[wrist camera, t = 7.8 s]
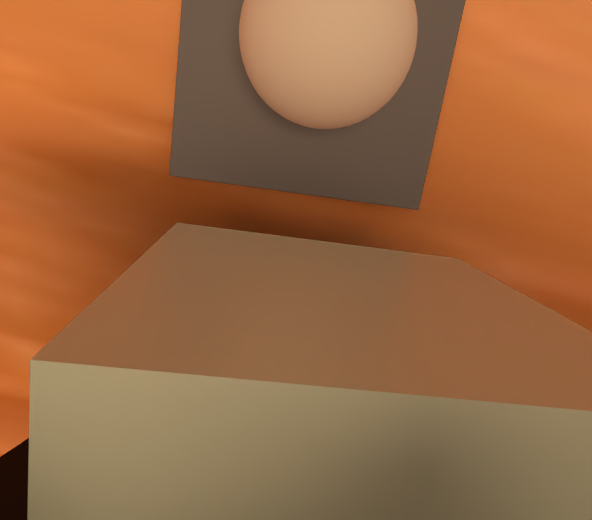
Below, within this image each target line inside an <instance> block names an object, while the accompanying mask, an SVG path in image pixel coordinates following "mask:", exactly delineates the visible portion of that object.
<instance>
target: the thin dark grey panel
mask: <svg viewBox="0 0 592 520" xmlns="http://www.w3.org/2000/svg"><path fill="white" fill-rule="evenodd" d="M414 1H415V5H416V11H417V21H418V32H417V42H416V49H415V53H414V58H413V61H412V63H411V66H410V69H409V71H408V73H407V75H406V77H405V79H404V81H403V83H402V84H401V86H400V87H399V89H398V91H397V92H396V93H395V95H394V96H393V97H392V98H391V99H390V100H389V101H388V102H387V103H386V104H385V105H384V106H383V107H382V108H381V109H380V110H378V111H377V112H376V113H374V114H373V115H371V116H370V117H368V118H366V119H364V120H362V121H360V122H358V123H356V124H353V125H350V126H346V127H341V128H336V129H314V128H309V127H305V126H301V125H299V124H296V123H293V122H291V121H289V120H287V119H286V118H284V117H282V116H281V115H279V114H278V113H276V112H275V111H274V110H273V109H272V108H270V107H269V106H268V105H267V104H266V103H265V102H264V100H263V99H262V98H261V97H260V96H259V95H258V93H257V91H256V90H255V88H254V87H253V85H252V83H251V81H250V79H249V77H248V75H247V73H246V70H245V67H244V64H243V61H242V56H241V51H240V44H239V22H240V16H241V10H242V5H243V2H244V0H182V7H181V21H180V35H179V49H178V62H177V76H176V90H175V104H174V118H173V131H172V145H171V159H170V173H169V176H177V177H184V178H191V179H198V180H205V181H213V182H220V183H227V184H234V185H242V186H249V187H256V188H263V189H271V190H278V191H285V192H292V193H300V194H307V195H314V196H321V197H329V198H336V199H343V200H350V201H357V202H365V203H372V204H379V205H386V206H394V207H401V208H408V209H415V210H418V209H419V205H420V200H421V196H422V191H423V187H424V182H425V178H426V174H427V169H428V165H429V160H430V156H431V151H432V147H433V142H434V138H435V134H436V129H437V125H438V120H439V116H440V111H441V107H442V102H443V98H444V94H445V89H446V85H447V80H448V76H449V71H450V67H451V62H452V58H453V54H454V49H455V45H456V40H457V36H458V31H459V27H460V22H461V18H462V14H463V9H464V5H465V0H414Z"/></svg>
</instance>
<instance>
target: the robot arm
mask: <svg viewBox="0 0 592 520" xmlns="http://www.w3.org/2000/svg"><path fill="white" fill-rule="evenodd" d="M28 459H29V438H28V439H27V440H25V441H24V442H22V443H21V444H19V445H18V446H16V447H15V448H13V449H12V450H10V451H9V452H7V453H6V454H4V455H3V456H1V457H0V520H27V513H28Z"/></svg>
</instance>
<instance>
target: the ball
mask: <svg viewBox="0 0 592 520" xmlns="http://www.w3.org/2000/svg"><path fill="white" fill-rule="evenodd" d="M417 32H418V21H417V11H416V5H415V1H414V0H244V2H243V5H242V10H241V16H240V22H239V44H240V51H241V56H242V61H243V64H244V67H245V70H246V73H247V75H248V77H249V79H250V81H251V83H252V85H253V87H254V88H255V90H256V91H257V93H258V95H259V96H260V97H261V98H262V99H263V100H264V102H265V103H266V104H267V105H268V106H269V107H270V108H272V109H273V110H274V111H275V112H276V113H278V114H279V115H281V116H282V117H284V118H286V119H287V120H289V121H291V122H293V123H296V124H299V125H301V126H305V127H309V128H314V129H336V128H341V127H346V126H350V125H353V124H356V123H358V122H360V121H362V120H364V119H366V118H368V117H370V116H371V115H373V114H374V113H376V112H377V111H378V110H380V109H381V108H382V107H383V106H384V105H385V104H386V103H387V102H388V101H389V100H390V99H391V98H392V97H393V96H394V95H395V93H396V92H397V91H398V89H399V87H400V86H401V84H402V83H403V81H404V79H405V77H406V75H407V73H408V71H409V69H410V66H411V63H412V61H413V58H414V53H415V49H416V42H417Z"/></svg>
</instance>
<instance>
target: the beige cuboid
mask: <svg viewBox="0 0 592 520" xmlns="http://www.w3.org/2000/svg"><path fill="white" fill-rule="evenodd" d="M27 520H592V332H591V331H590V330H588V329H586V328H584V327H582V326H581V325H579V324H577V323H575V322H573V321H571V320H570V319H568V318H566V317H564V316H562V315H560V314H559V313H557V312H555V311H553V310H551V309H550V308H548V307H546V306H544V305H542V304H540V303H539V302H537V301H535V300H533V299H531V298H529V297H528V296H526V295H524V294H522V293H520V292H519V291H517V290H515V289H513V288H511V287H509V286H508V285H506V284H504V283H502V282H500V281H498V280H497V279H495V278H493V277H491V276H489V275H488V274H486V273H484V272H482V271H480V270H478V269H477V268H475V267H473V266H471V265H469V264H467V263H466V262H464V261H462V260H460V259H458V258H452V257H444V256H437V255H429V254H421V253H413V252H405V251H397V250H389V249H382V248H374V247H366V246H358V245H350V244H342V243H334V242H327V241H319V240H311V239H303V238H295V237H287V236H279V235H272V234H264V233H256V232H248V231H240V230H232V229H224V228H217V227H209V226H201V225H193V224H185V223H176V224H175V225H174V226H173V227H172V228H171V229H169V230H168V231H167V232H166V233H165V234H164V235H163V236H162V237H161V238H160V239H159V240H158V241H157V242H156V243H155V244H153V245H152V246H151V247H150V248H149V249H148V250H147V251H146V252H145V253H144V254H143V255H142V256H141V257H140V258H138V259H137V260H136V261H135V262H134V263H133V264H132V265H131V266H130V267H129V268H128V269H127V270H126V271H125V272H124V273H122V274H121V275H120V276H119V277H118V278H117V279H116V280H115V281H114V282H113V283H112V284H111V285H110V286H109V287H108V288H106V289H105V290H104V291H103V292H102V293H101V294H100V295H99V296H98V297H97V298H96V299H95V300H94V301H93V302H91V303H90V304H89V305H88V306H87V307H86V308H85V309H84V310H83V311H82V312H81V313H80V314H79V315H78V316H77V317H75V318H74V319H73V320H72V321H71V322H70V323H69V324H68V325H67V326H66V327H65V328H64V329H63V330H62V331H61V332H59V333H58V334H57V335H56V336H55V337H54V338H53V339H52V340H51V341H50V342H49V343H48V344H47V345H46V346H44V347H43V348H42V349H41V350H40V351H39V352H38V353H37V354H36V355H35V356H34V357H33V358H32V359H31V360H30V405H29V459H28V513H27Z"/></svg>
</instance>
